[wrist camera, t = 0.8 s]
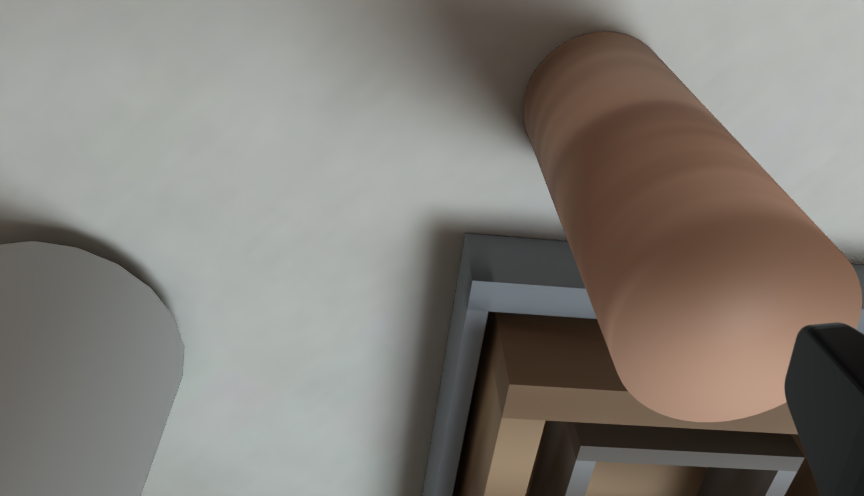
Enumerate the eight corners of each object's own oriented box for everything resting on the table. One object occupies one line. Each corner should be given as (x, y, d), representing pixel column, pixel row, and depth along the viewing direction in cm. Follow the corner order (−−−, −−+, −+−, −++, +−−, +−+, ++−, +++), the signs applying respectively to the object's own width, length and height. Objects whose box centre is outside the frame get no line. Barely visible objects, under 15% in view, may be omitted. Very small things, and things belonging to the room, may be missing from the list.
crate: (733, 546, 31) (780, 655, 27) (442, 534, 30) (449, 647, 26) (853, 311, 25) (938, 409, 21) (490, 285, 23) (509, 384, 20)
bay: (1012, 574, 33) (1072, 653, 30) (412, 553, 31) (414, 636, 28) (1248, 295, 25) (1361, 364, 22) (465, 233, 23) (476, 302, 20)
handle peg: (646, 176, 22) (805, 428, 13) (511, 163, 22) (587, 415, 13) (686, 39, 20) (905, 238, 11) (538, 23, 19) (650, 216, 11)
